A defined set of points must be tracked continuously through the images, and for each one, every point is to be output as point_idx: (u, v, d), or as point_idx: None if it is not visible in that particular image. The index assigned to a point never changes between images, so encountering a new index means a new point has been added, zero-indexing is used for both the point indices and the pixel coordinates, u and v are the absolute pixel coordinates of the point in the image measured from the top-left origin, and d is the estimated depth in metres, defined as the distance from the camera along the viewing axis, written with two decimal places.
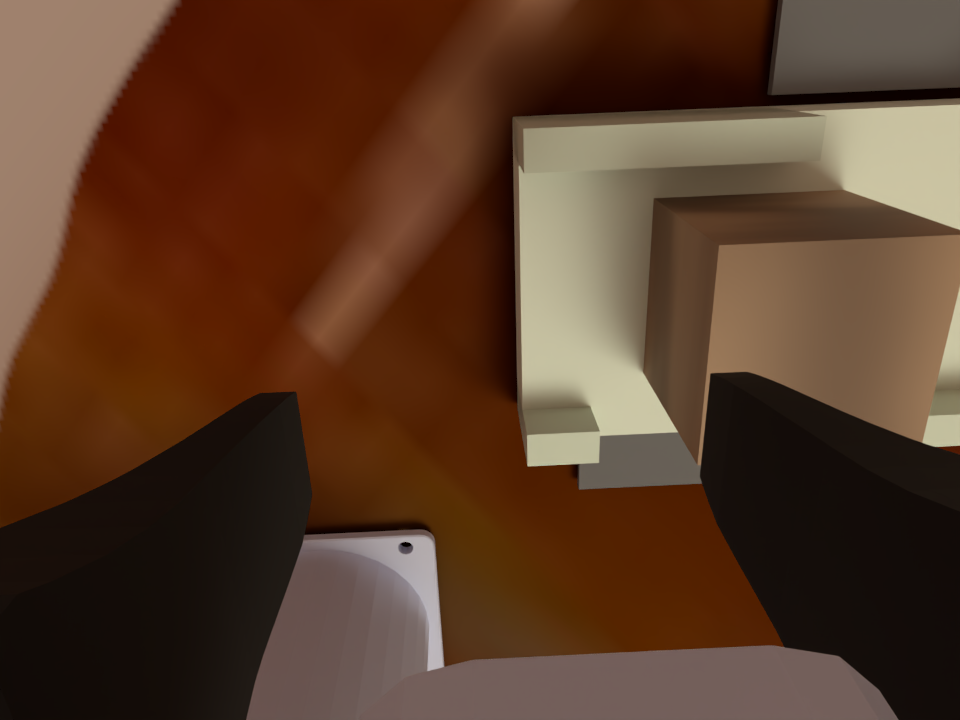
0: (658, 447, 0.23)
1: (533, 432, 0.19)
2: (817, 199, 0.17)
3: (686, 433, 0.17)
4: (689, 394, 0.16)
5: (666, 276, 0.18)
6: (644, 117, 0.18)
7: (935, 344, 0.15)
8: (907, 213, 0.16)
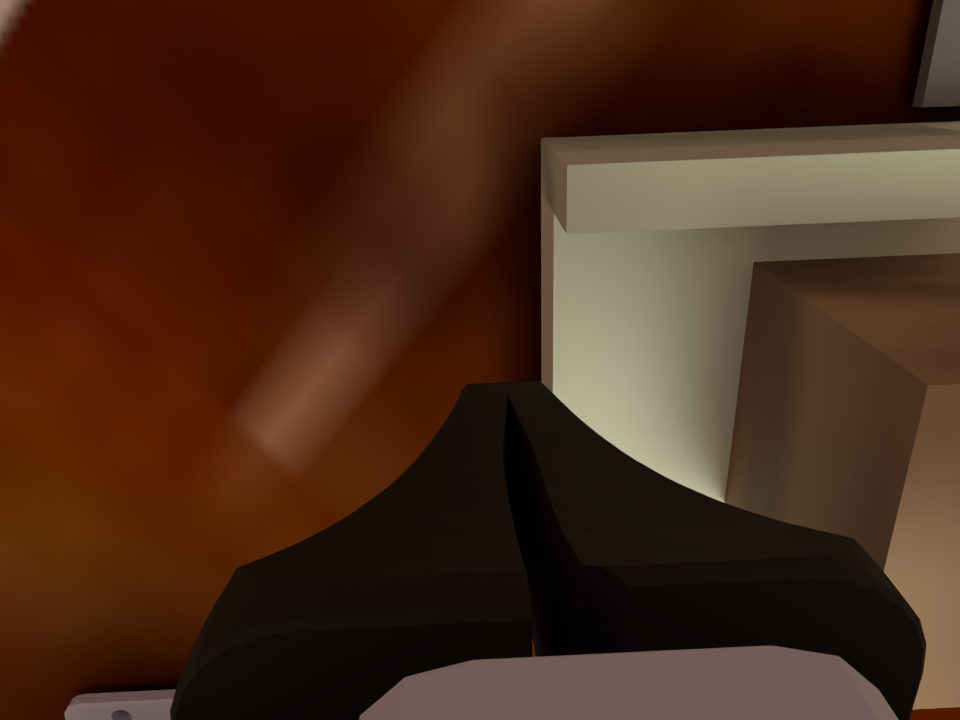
0: None
1: None
2: None
3: None
4: None
5: (780, 386, 0.12)
6: (746, 143, 0.12)
7: None
8: None
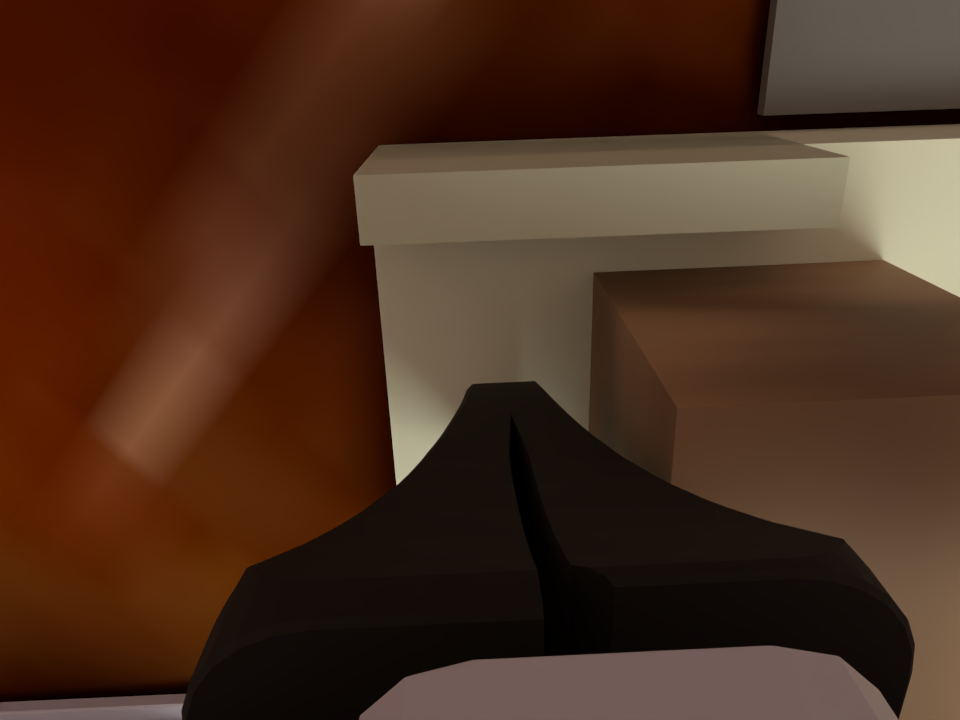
0: None
1: None
2: (845, 281, 0.11)
3: None
4: None
5: (608, 400, 0.11)
6: (563, 152, 0.11)
7: None
8: None
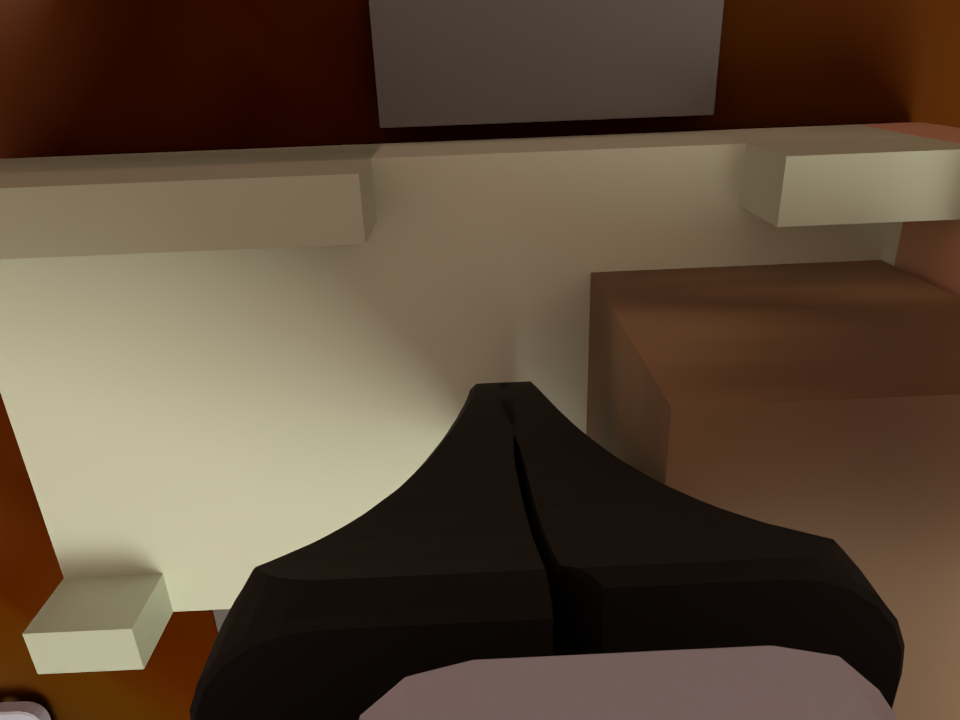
0: None
1: (35, 628, 0.13)
2: (842, 281, 0.11)
3: None
4: None
5: (605, 400, 0.11)
6: (130, 167, 0.11)
7: None
8: None
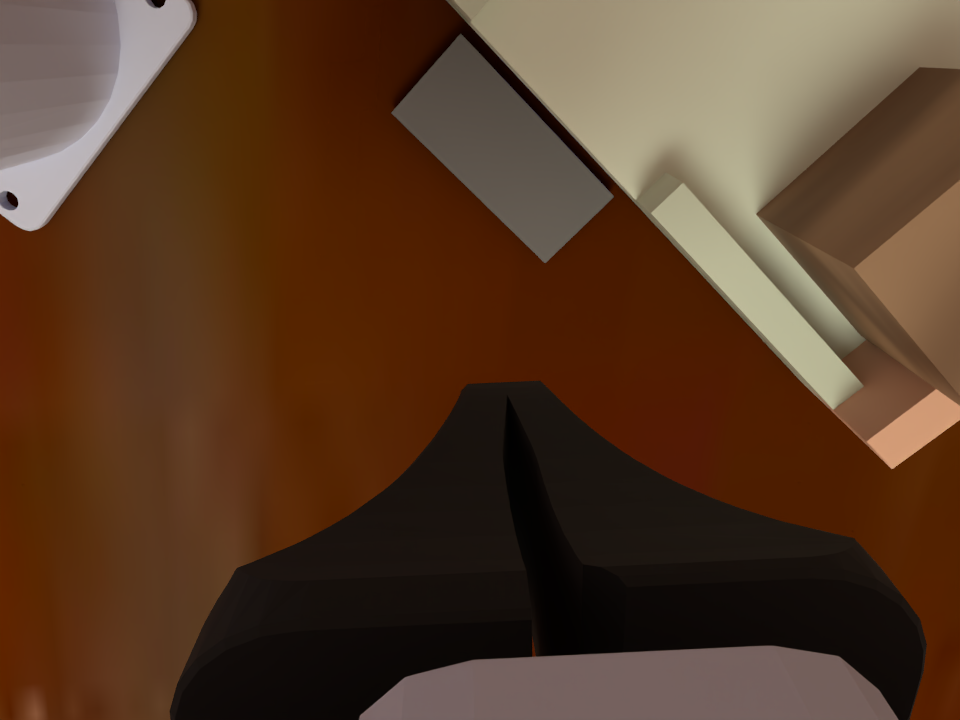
0: (499, 141, 0.19)
1: None
2: None
3: (843, 245, 0.15)
4: (883, 211, 0.15)
5: (900, 124, 0.16)
6: None
7: None
8: None
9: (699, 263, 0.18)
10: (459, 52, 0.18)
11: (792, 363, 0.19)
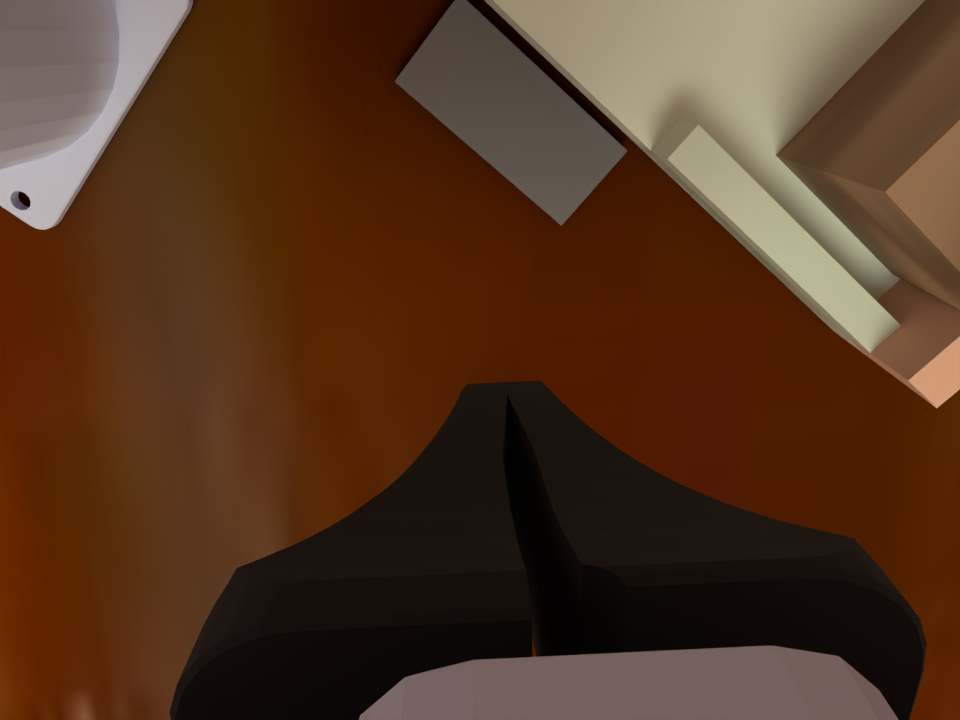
0: (506, 103, 0.19)
1: None
2: None
3: (871, 172, 0.14)
4: (912, 131, 0.14)
5: (923, 44, 0.16)
6: None
7: None
8: None
9: (721, 208, 0.17)
10: (459, 13, 0.18)
11: (824, 306, 0.18)
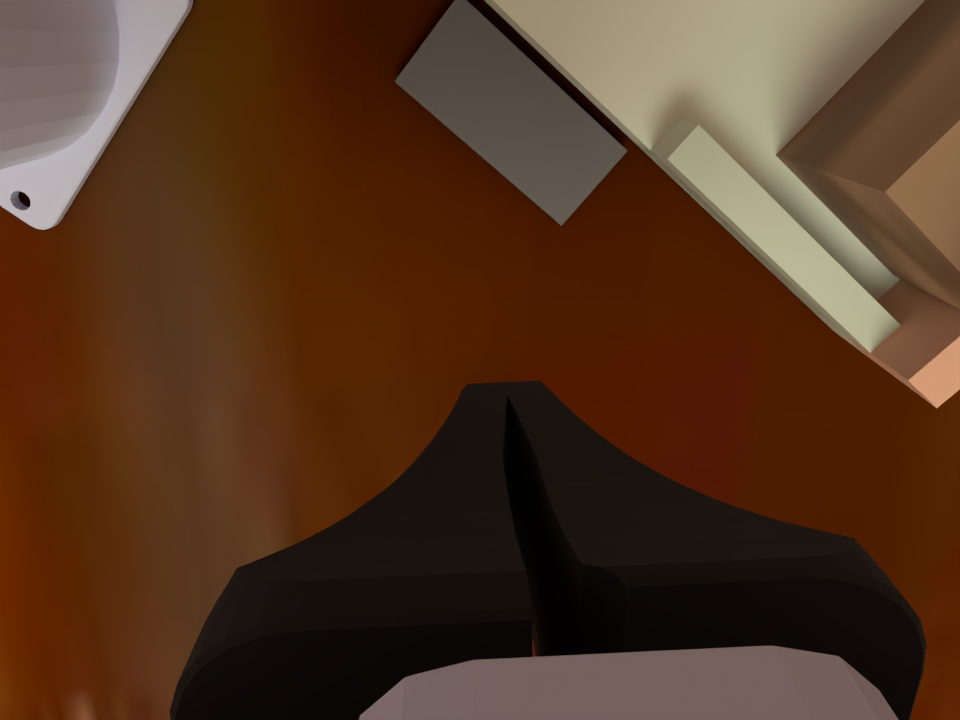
0: (506, 103, 0.19)
1: None
2: None
3: (871, 172, 0.14)
4: (912, 131, 0.14)
5: (923, 44, 0.16)
6: None
7: None
8: None
9: (721, 208, 0.17)
10: (459, 13, 0.18)
11: (824, 306, 0.18)
